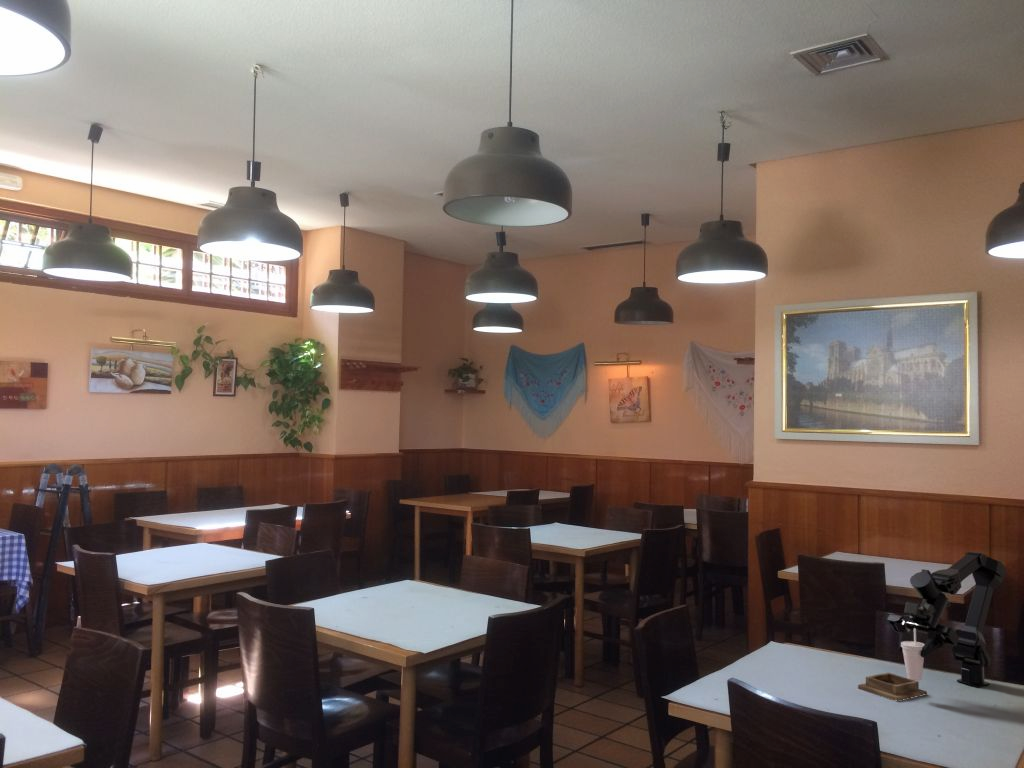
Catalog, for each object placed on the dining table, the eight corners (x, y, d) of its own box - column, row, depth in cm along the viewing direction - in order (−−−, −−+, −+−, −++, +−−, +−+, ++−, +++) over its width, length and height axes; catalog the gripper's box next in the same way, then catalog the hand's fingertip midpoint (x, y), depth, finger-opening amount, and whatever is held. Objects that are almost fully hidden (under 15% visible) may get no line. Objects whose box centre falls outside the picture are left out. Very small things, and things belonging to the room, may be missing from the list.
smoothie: (927, 683, 219) (924, 632, 219) (901, 679, 222) (899, 629, 223) (927, 676, 224) (925, 627, 225) (902, 673, 227) (900, 624, 228)
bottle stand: (887, 682, 239) (887, 670, 239) (926, 694, 227) (926, 682, 228) (858, 688, 233) (857, 676, 233) (897, 701, 221) (896, 688, 222)
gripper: (889, 586, 234) (867, 628, 228) (951, 597, 218) (930, 643, 212) (906, 609, 238) (885, 652, 232) (968, 622, 222) (947, 668, 216)
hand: (910, 653), depth 223 cm, fingers closed on smoothie, 6 cm apart
